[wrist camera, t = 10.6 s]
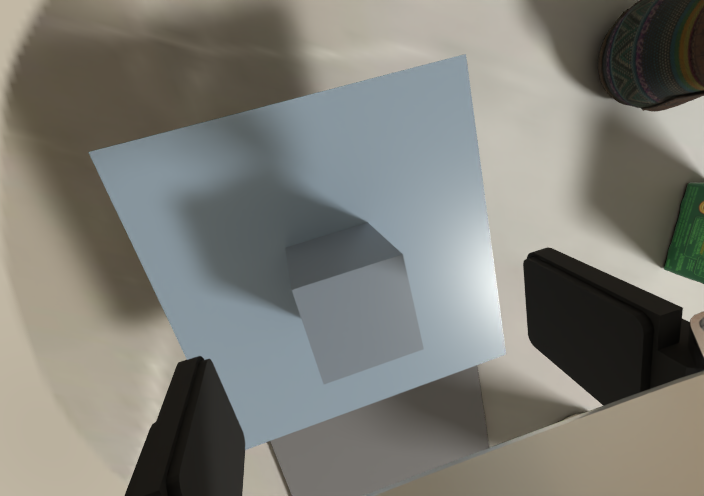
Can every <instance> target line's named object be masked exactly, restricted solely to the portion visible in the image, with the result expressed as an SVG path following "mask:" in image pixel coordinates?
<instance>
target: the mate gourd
mask: <svg viewBox="0 0 704 496" xmlns="http://www.w3.org/2000/svg"><path fill="white" fill-rule="evenodd" d="M598 70H599V76H600V80H601V83H602V85H603V87H604V89H605V90H606V91H607V93H608V94H609V95H610V96H611V97H612V98H613V99H615V100H616V101H618V102H619V103H622V104H625V105H629V106H634V107H637V108H641V109H642V110H643V111H644V110H648V111H661V110H666V109H669V108H672V107H675V106H678V105H681V104H684V103H686V102H688V101H691V100H694V99H696V98H699V97H701V96H704V0H640V1H638V2H637V3H635V4H634V5H633V6H632V7H631V8H630V9H627V10H626V11H625V12H623V14H622V15H621V16H620V18H619V19H618V20H617V21H616V22H615V23H614V25H613V26H612V27H611V29H610V30H609V32H608V34H607V35H606V37H605V39H604V41H603V43H602V47H601V49H600V54H599V60H598Z"/></svg>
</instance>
